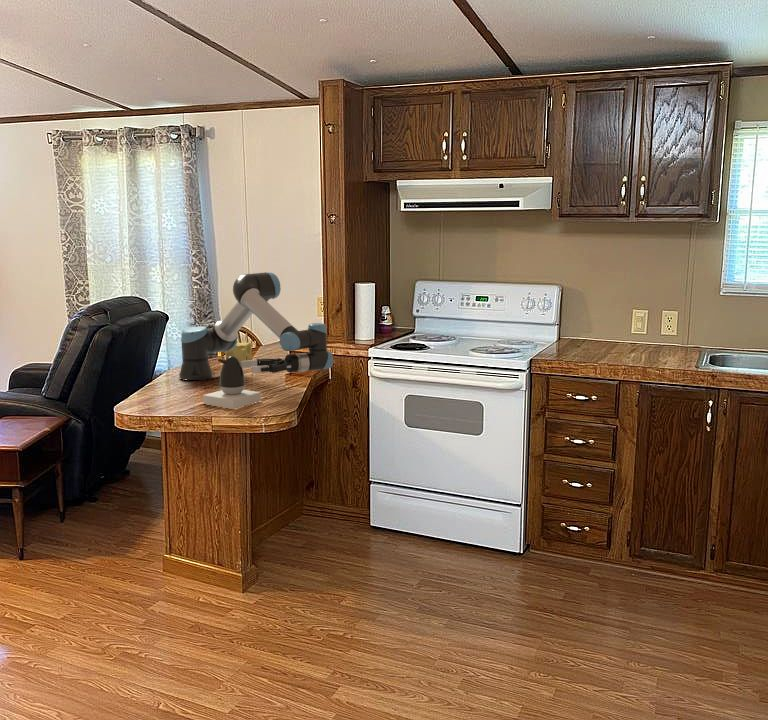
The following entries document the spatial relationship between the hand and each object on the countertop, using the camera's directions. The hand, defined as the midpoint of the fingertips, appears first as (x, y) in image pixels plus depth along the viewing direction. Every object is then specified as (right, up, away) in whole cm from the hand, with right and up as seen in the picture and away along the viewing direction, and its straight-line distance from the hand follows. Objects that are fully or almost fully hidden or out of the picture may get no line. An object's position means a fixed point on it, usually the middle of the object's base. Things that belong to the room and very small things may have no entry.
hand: (246, 367), depth 321 cm
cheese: (-19, +1, +88) cm, 90 cm away
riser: (-6, -15, 0) cm, 16 cm away
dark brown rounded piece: (-6, -11, -1) cm, 12 cm away
